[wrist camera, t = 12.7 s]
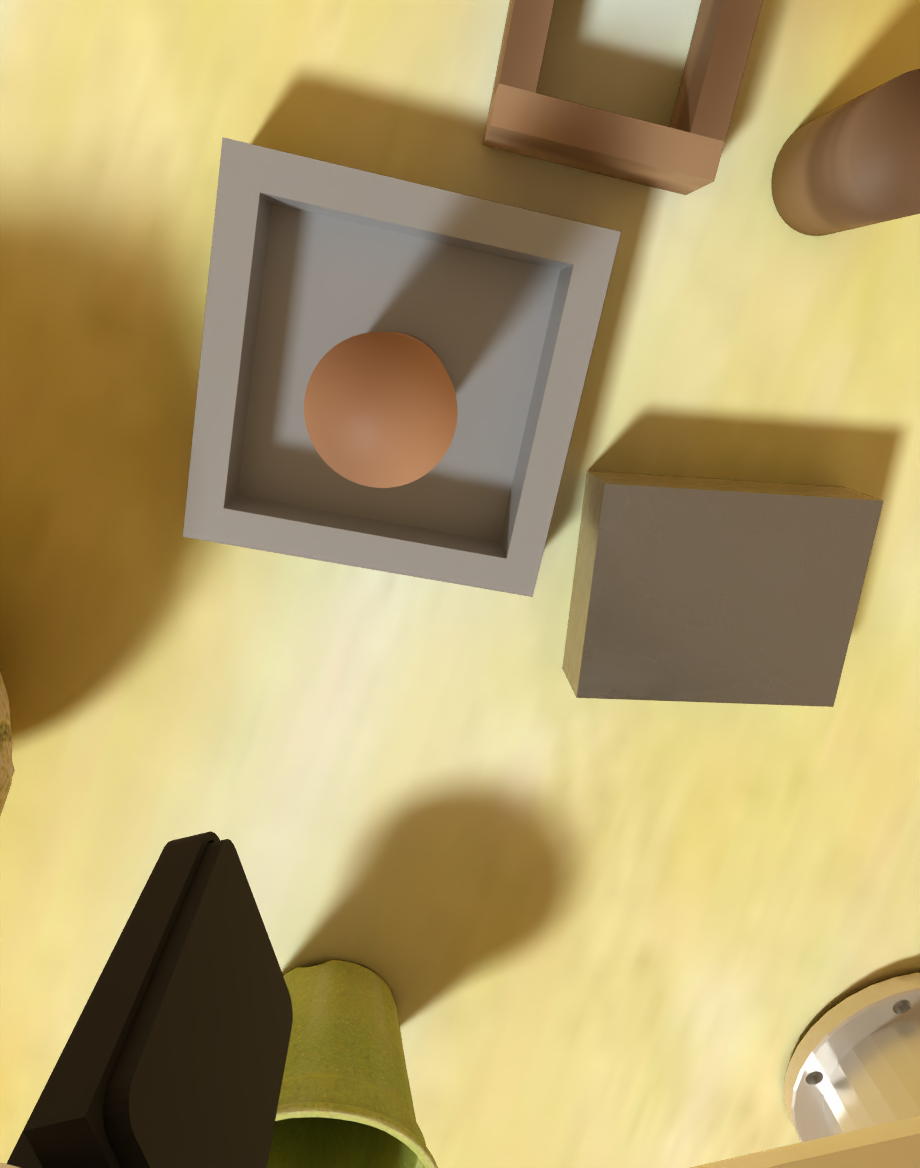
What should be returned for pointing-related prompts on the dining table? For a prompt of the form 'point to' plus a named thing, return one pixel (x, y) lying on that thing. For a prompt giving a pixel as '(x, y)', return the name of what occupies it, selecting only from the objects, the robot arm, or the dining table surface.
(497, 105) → the socket block
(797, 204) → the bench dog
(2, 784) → the cantaloupe
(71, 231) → the dining table surface
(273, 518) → the tray
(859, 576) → the grey rectangular block
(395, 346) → the dowel
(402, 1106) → the plant pot
